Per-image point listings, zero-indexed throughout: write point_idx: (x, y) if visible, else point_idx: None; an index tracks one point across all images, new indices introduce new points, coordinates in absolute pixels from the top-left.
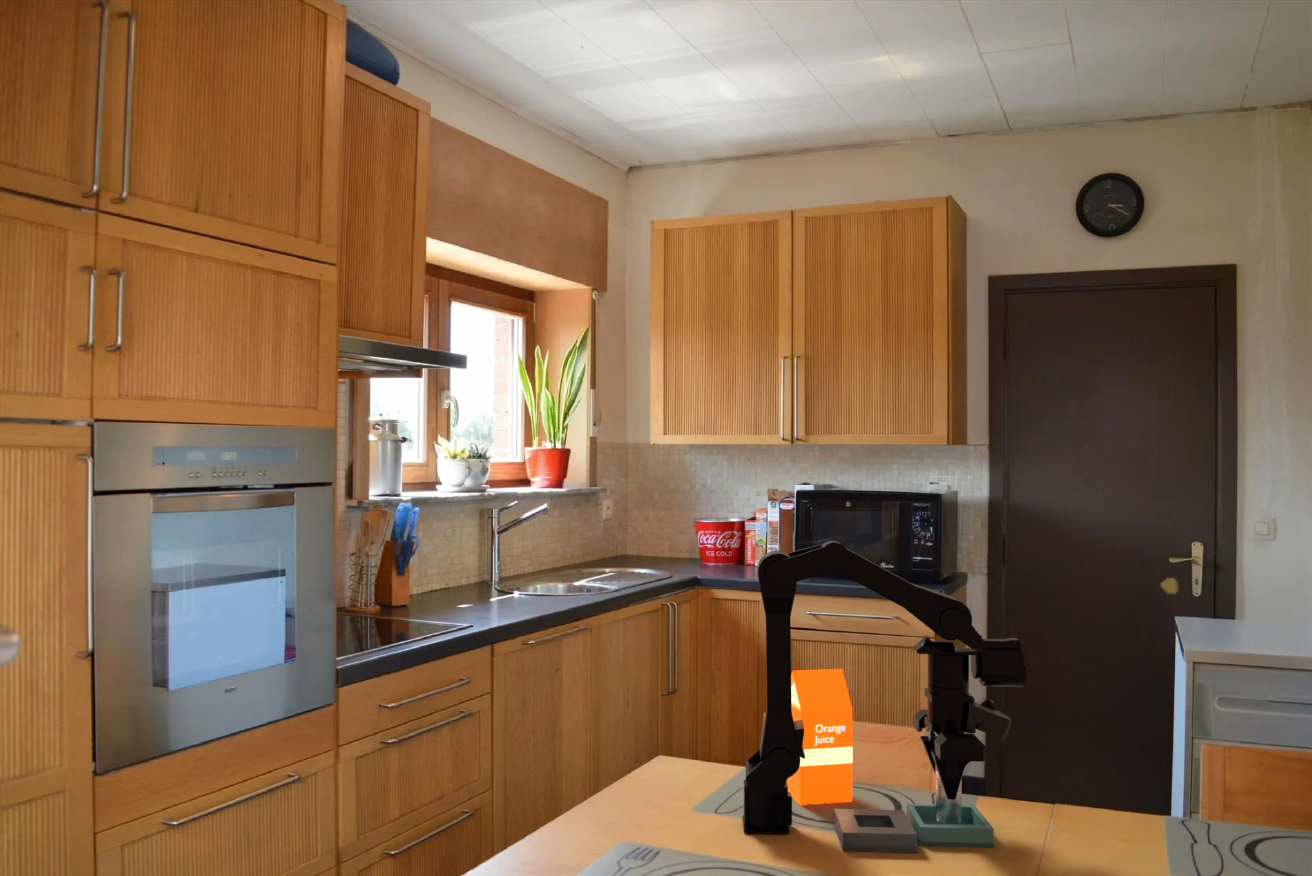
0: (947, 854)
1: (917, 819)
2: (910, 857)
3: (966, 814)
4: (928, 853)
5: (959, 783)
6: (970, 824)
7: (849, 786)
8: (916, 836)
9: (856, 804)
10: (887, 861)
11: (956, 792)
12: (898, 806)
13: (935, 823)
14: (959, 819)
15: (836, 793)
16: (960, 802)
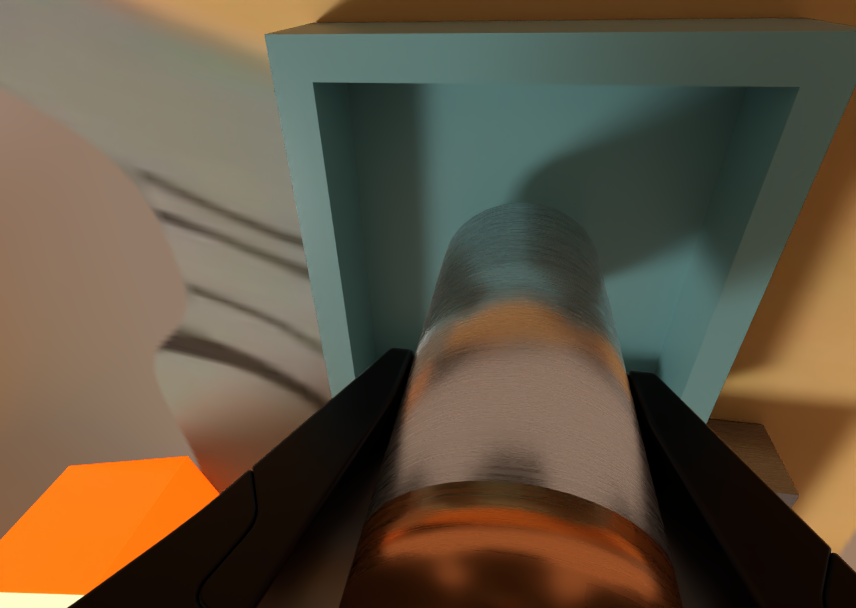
0: (821, 320)
1: None
2: (800, 454)
3: (334, 105)
4: (776, 387)
5: (774, 494)
6: (413, 88)
7: (159, 510)
8: (794, 489)
9: (211, 452)
10: (813, 521)
11: (693, 418)
12: (176, 339)
13: (418, 279)
14: (588, 240)
15: None
16: (589, 290)
